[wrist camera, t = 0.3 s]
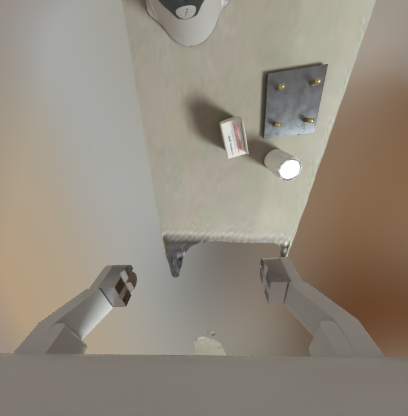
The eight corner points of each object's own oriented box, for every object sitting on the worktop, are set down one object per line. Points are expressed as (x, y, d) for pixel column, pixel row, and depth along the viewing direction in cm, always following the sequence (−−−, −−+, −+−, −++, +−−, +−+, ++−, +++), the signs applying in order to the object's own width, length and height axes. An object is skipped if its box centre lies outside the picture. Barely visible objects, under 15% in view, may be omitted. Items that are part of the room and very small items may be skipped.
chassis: (266, 74, 41) (272, 70, 37) (324, 65, 40) (336, 60, 36) (262, 137, 48) (267, 139, 44) (311, 131, 47) (320, 132, 43)
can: (261, 154, 51) (274, 164, 40) (281, 145, 49) (300, 152, 39) (267, 172, 54) (280, 185, 43) (286, 163, 52) (305, 175, 41)
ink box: (218, 121, 47) (220, 123, 34) (234, 116, 46) (243, 115, 33) (224, 151, 51) (229, 162, 38) (240, 146, 50) (250, 156, 37)
